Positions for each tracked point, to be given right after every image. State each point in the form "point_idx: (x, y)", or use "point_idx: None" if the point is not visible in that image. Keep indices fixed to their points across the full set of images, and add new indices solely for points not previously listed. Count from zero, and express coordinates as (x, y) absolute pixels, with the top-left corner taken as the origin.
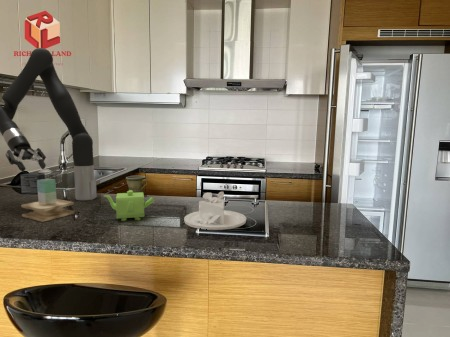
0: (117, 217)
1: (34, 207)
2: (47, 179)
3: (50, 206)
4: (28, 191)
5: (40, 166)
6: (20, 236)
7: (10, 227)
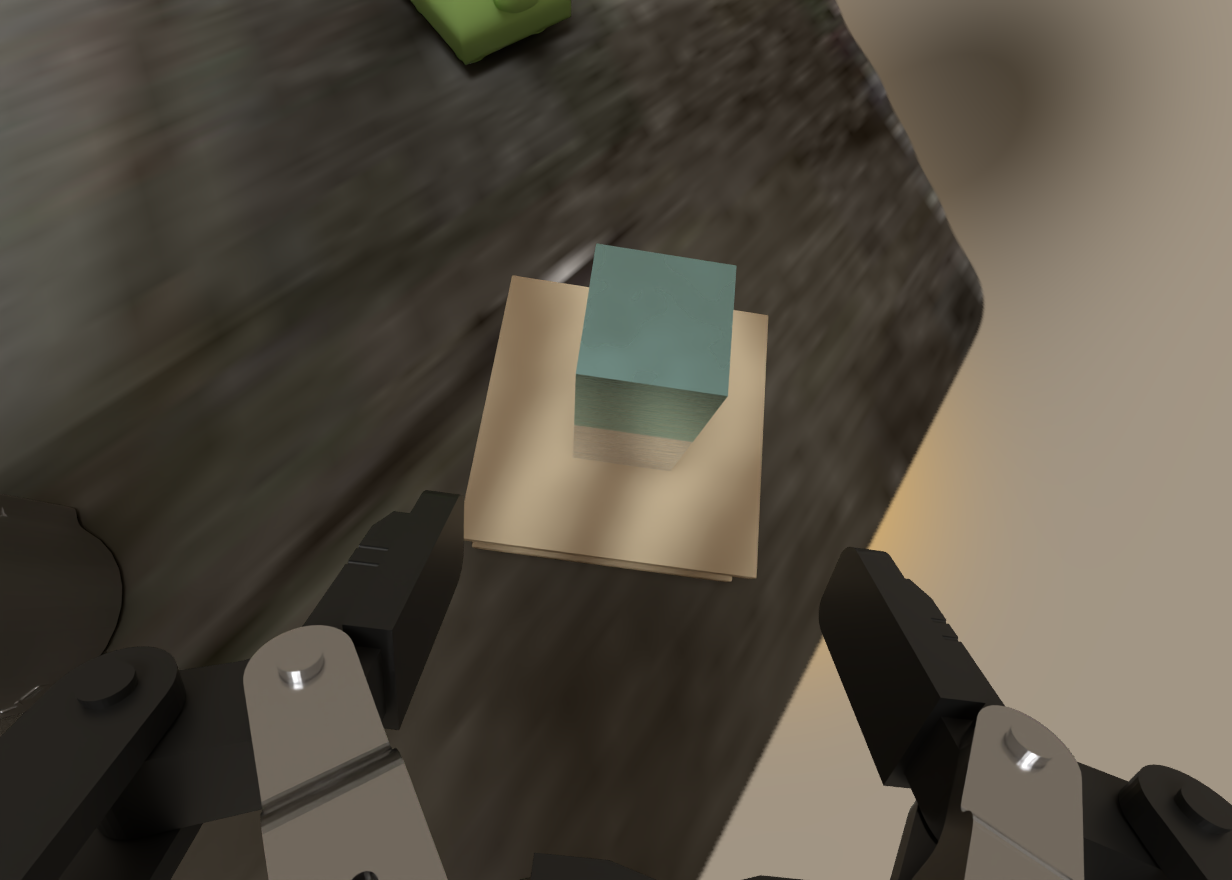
0: (568, 7)
1: (758, 404)
2: (635, 322)
3: None
4: None
5: (438, 627)
6: (939, 262)
7: (894, 430)
